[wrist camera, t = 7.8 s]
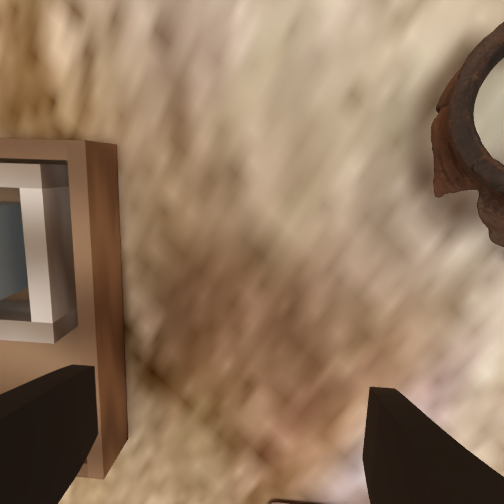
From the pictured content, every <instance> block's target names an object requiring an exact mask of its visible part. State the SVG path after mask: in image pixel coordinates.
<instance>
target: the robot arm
mask: <svg viewBox="0 0 504 504" xmlns="http://www.w3.org/2000/svg"><path fill="white" fill-rule="evenodd" d="M97 436H98V417H97V400H96V382H95V366H88V365H75V364H72V365H69V366H66V367H63V368H60V369H58V370H55V371H53V372H50V373H48V374H46V375H43V376H41V377H39V378H36V379H34V380H32V381H29V382H27V383H25V384H23V385H20V386H18V387H16V388H14V389H11V390H9V391H7V392H4V393H2V394H0V504H58V502H59V501H60V499H61V498H62V497H63V495H64V494H65V492H66V491H67V489H68V488H69V486H70V485H71V483H72V482H73V480H74V479H75V477H76V476H77V474H78V473H79V471H80V469H81V467H82V466H83V464H84V462H85V460H86V458H87V456H88V454H89V452H90V450H91V448H92V446H93V444H94V442H95V440H96V438H97ZM363 464H364V470H365V477H366V483H367V488H368V494H369V499H370V503H371V504H504V477H503V476H502V475H500V474H499V473H497V472H496V471H495V470H493V469H492V468H491V467H489V466H488V465H487V464H485V463H484V462H483V461H481V460H480V459H479V458H477V457H476V456H475V455H474V454H472V453H471V452H470V451H468V450H467V449H466V448H465V447H463V446H462V445H461V444H460V443H458V442H457V441H456V440H455V439H453V438H452V437H451V436H450V435H449V434H447V433H446V432H445V431H444V430H443V429H441V428H440V427H439V426H438V425H437V424H436V423H434V422H433V421H432V420H431V419H430V418H429V417H427V416H426V415H425V414H424V413H423V412H422V411H421V410H419V409H418V408H417V407H416V406H415V405H414V404H413V403H411V402H410V401H409V400H408V399H407V398H406V397H405V396H403V395H402V394H401V393H400V392H399V391H397V390H396V389H394V388H380V387H370V390H369V399H368V409H367V419H366V428H365V438H364V448H363ZM271 504H288V503H278V502H275V503H271Z"/></svg>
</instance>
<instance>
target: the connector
mask: <svg viewBox="0 0 504 504" xmlns="http://www.w3.org/2000/svg"><path fill="white" fill-rule="evenodd" d="M26 288H28V277H27V266H26V255H25V244H24V233H23V222H22V211H21V202H14V201H0V300H2V299H4V298H6V297H8V296H10V295H13V294H15V293H17V292H19V291H21V290H24V289H26Z"/></svg>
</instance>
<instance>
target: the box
mask: <svg viewBox="0 0 504 504" xmlns="http://www.w3.org/2000/svg"><path fill="white" fill-rule="evenodd" d="M0 201H14V202H21V211H22V222H23V233H24V244H25V255H26V266H27V277H28V288H26V289H24V290H21V291H19V292H17V293H15V294H13V295H10V296H8V297H6V298H4V299H2V300H0V394H2V393H4V392H7V391H9V390H11V389H14V388H16V387H18V386H20V385H23V384H25V383H27V382H29V381H32V380H34V379H36V378H39V377H41V376H43V375H46V374H48V373H50V372H53V371H55V370H58V369H60V368H63V367H66V366H69V365H72V364H75V365H88V366H95V382H96V400H97V417H98V436H97V438H96V440H95V442H94V444H93V446H92V448H91V450H90V452H89V454H88V456H87V458H86V460H85V462H84V464H83V466H82V467H81V469H80V471H79V473H78V474H77V476H76V477H85V478H95V479H104V478H105V477H106V475H107V473H108V472H109V470H110V468H111V467H112V465H113V463H114V461H115V460H116V458H117V456H118V455H119V453H120V451H121V450H122V448H123V446H124V445H125V443H126V441H127V440H128V424H127V399H126V374H125V348H124V323H123V298H122V273H121V247H120V222H119V197H118V172H117V147H116V145H115V144H107V143H100V142H92V141H83V140H47V139H10V138H0Z"/></svg>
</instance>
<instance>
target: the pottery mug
mask: <svg viewBox="0 0 504 504" xmlns="http://www.w3.org/2000/svg"><path fill="white" fill-rule="evenodd" d="M503 58H504V22H503V23H502V24H500V25H499V26H498V27H497V28H496V29H495V30H494V31H493V32H492V33H490V34H489V35H488V36H487V37H485V38H484V39H483V40H482V41H481V42H480V43H479V44H478V45H477V46H476V48H475V49H474V50H473V51H472V52H471V53H470V55H469V56H468V57H467V59H466V61H465V63H464V64H463V66H462V68H460V70H459V71H458V72H457V73H456V74H455V75H454V77H453V78H452V79H451V81H450V82H449V84H448V85H447V87H446V89H445V90H444V92H443V94H442V96H441V97H440V99H439V101H438V103H437V106H436V111H437V112H438V113H439V114H438V115H437V117H436V118H435V119H434V121H433V123H432V126H431V142H432V150H433V154H434V180H433V183H434V193H435V197H437V198H439V197H442V196H443V195H444V194H448V193H455V192H459V191H464V190H478V191H479V198H478V202H477V209H478V212H479V217H480V219H481V220H482V222H483V223H484V224H485V225H486V226H487V228H488V230H489V237H490V239H491V241H492V242H493V243H495V244H497V245H500V246H502V247H504V165H503V164H501V163H500V162H499V161H497V160H495V159H493V158H492V157H491V155H490V154H489V152H488V151H487V150H486V148H485V147H484V146H483V144H482V142H481V140H480V137H479V135H478V133H477V131H476V128H475V125H474V116H473V112H474V104H475V100H476V97H477V94H478V91H479V88H480V87H481V85H482V83H483V82H484V80H485V78H486V77H487V75H488V74H489V73H490V71H491V70H492V69H493V68H494V66H495V65H496V64H497V63H498V62H499V61H500V60H501V59H503Z"/></svg>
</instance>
